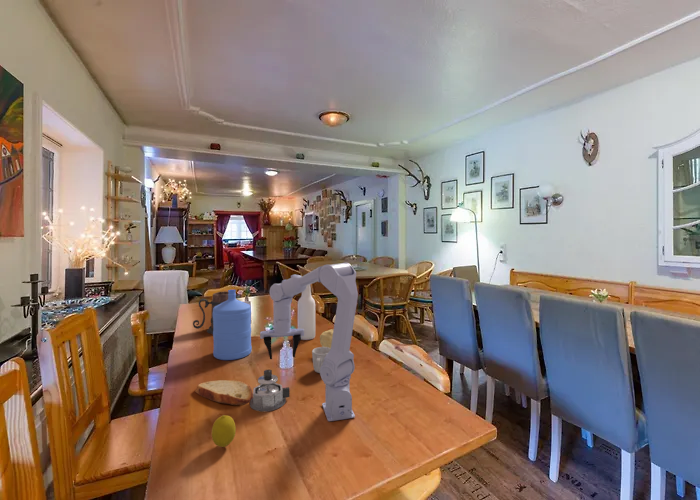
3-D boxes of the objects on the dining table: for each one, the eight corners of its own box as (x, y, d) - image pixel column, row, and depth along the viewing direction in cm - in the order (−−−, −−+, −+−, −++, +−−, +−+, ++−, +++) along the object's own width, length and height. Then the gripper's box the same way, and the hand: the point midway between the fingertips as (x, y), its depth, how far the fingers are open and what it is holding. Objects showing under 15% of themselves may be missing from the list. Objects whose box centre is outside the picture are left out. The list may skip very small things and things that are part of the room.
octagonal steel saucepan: (290, 405, 99) (290, 393, 99) (253, 410, 96) (252, 398, 96) (288, 391, 108) (288, 380, 107) (253, 395, 105) (253, 384, 105)
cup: (327, 379, 117) (327, 358, 117) (306, 377, 119) (306, 356, 118) (335, 367, 128) (335, 347, 127) (315, 365, 129) (315, 346, 129)
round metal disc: (287, 408, 98) (287, 407, 98) (249, 414, 95) (249, 412, 95) (284, 391, 108) (284, 390, 108) (250, 395, 106) (250, 394, 106)
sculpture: (315, 353, 142) (315, 329, 142) (337, 347, 150) (337, 324, 150) (332, 361, 134) (332, 335, 133) (353, 354, 142) (353, 330, 141)
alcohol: (296, 335, 167) (296, 277, 165) (313, 334, 169) (313, 276, 167) (298, 341, 158) (298, 280, 157) (316, 339, 161) (316, 279, 159)
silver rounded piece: (279, 395, 99) (279, 374, 99) (256, 398, 97) (256, 376, 97) (278, 385, 106) (278, 365, 105) (257, 387, 104) (256, 367, 103)
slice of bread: (195, 387, 112) (195, 377, 111) (250, 379, 118) (250, 369, 118) (189, 415, 95) (189, 403, 94) (254, 404, 101) (253, 392, 101)
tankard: (237, 323, 188) (237, 289, 187) (242, 331, 173) (241, 294, 172) (192, 328, 177) (191, 292, 176) (193, 338, 162) (192, 298, 161)
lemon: (238, 439, 83) (238, 409, 83) (231, 454, 78) (231, 421, 77) (216, 439, 83) (216, 409, 83) (208, 454, 78) (207, 422, 77)
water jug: (253, 357, 137) (252, 292, 135) (212, 363, 131) (211, 294, 130) (250, 345, 151) (249, 286, 150) (213, 350, 146) (212, 288, 144)
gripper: (302, 313, 116) (302, 351, 117) (260, 316, 112) (260, 354, 113) (304, 319, 109) (304, 358, 110) (259, 321, 106) (260, 362, 106)
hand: (282, 357), depth 111 cm, fingers open, 7 cm apart
